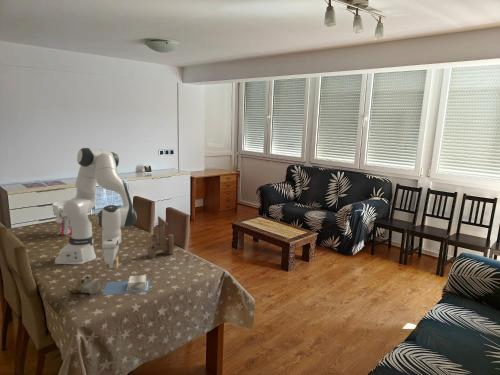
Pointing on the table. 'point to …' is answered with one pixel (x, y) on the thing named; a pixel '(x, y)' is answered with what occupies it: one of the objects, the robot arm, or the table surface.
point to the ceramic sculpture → (86, 286)
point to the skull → (62, 217)
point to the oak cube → (115, 264)
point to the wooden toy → (160, 240)
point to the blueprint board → (122, 288)
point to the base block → (137, 282)
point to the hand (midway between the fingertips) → (112, 264)
